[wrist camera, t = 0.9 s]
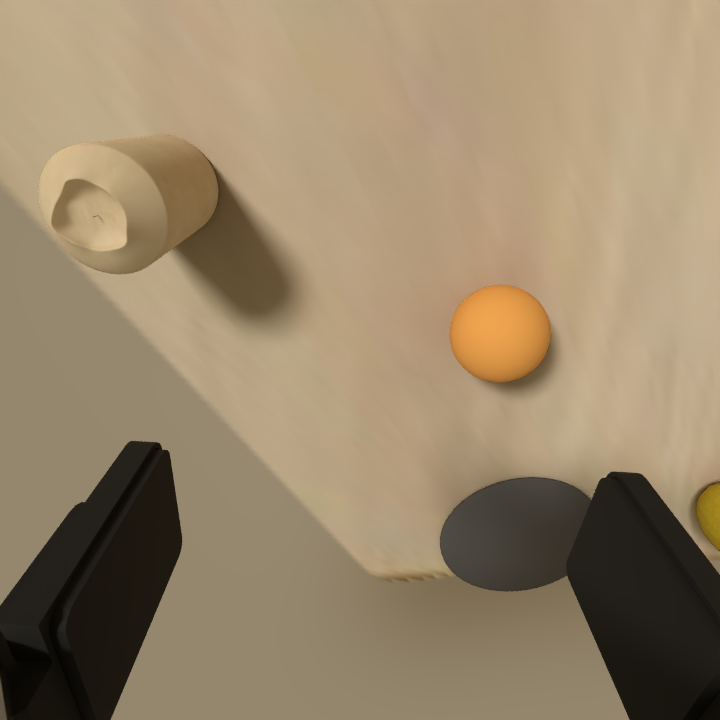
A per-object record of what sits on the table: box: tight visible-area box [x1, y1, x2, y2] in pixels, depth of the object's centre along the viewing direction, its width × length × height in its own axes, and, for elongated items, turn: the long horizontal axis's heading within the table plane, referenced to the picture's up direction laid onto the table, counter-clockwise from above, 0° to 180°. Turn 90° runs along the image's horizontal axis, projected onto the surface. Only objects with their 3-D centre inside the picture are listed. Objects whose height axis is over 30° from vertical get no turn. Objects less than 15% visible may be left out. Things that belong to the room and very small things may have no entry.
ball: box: [450, 285, 551, 382], centre depth 29 cm, size 6×6×6 cm
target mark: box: [440, 477, 591, 591], centre depth 42 cm, size 14×14×1 cm
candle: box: [38, 135, 219, 274], centre depth 24 cm, size 6×6×10 cm
